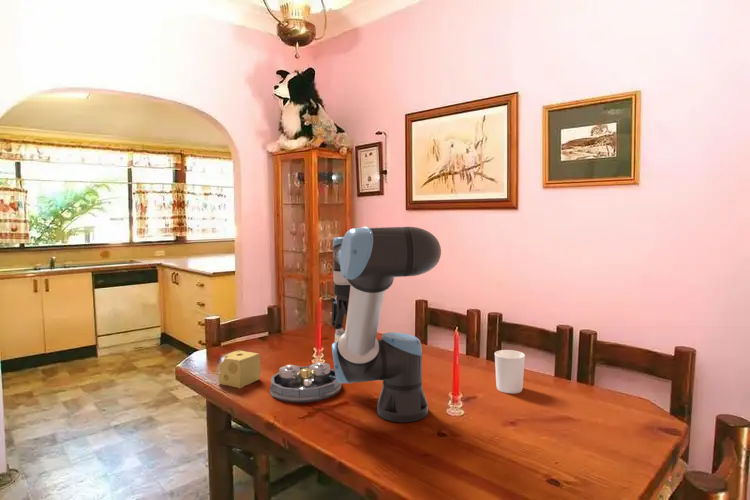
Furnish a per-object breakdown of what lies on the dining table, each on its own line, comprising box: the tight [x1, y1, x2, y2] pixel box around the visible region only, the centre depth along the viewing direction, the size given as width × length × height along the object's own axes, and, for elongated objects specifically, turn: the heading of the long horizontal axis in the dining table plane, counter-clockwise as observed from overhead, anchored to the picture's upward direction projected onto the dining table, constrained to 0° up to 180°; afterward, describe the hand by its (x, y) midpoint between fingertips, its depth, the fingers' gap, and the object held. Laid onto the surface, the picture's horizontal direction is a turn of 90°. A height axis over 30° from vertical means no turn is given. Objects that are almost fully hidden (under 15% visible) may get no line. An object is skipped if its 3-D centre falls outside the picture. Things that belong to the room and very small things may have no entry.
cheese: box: [217, 349, 261, 389], centre depth 166 cm, size 10×11×10 cm
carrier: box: [269, 361, 342, 404], centre depth 159 cm, size 24×24×8 cm
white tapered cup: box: [494, 349, 526, 394], centre depth 156 cm, size 10×10×12 cm
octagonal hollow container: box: [334, 330, 345, 343], centre depth 158 cm, size 7×7×6 cm
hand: (345, 349), depth 158 cm, fingers closed on octagonal hollow container, 7 cm apart
